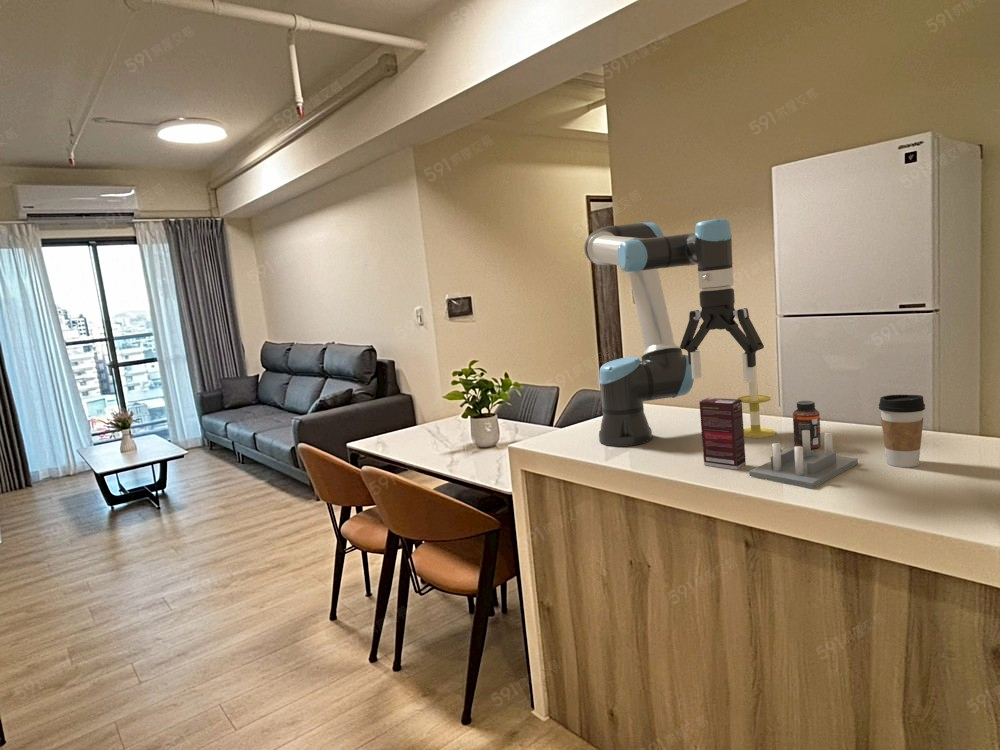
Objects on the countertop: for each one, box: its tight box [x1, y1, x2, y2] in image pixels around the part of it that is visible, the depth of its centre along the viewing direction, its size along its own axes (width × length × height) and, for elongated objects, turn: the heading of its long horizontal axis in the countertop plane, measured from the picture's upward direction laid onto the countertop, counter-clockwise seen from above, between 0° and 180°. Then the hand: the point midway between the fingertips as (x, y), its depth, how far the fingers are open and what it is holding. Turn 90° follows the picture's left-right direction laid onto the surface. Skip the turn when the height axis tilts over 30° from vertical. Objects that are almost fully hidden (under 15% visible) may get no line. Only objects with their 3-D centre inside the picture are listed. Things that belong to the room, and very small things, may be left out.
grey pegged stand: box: [748, 430, 859, 490], centre depth 136 cm, size 14×20×7 cm
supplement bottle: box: [792, 400, 822, 450], centre depth 152 cm, size 6×6×11 cm
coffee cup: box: [878, 394, 926, 468], centre depth 132 cm, size 8×8×15 cm
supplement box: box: [698, 397, 747, 470], centre depth 145 cm, size 9×5×16 cm, turn 43°
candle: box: [737, 353, 776, 439], centre depth 167 cm, size 10×10×27 cm
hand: (721, 379), depth 143 cm, fingers open, 13 cm apart
